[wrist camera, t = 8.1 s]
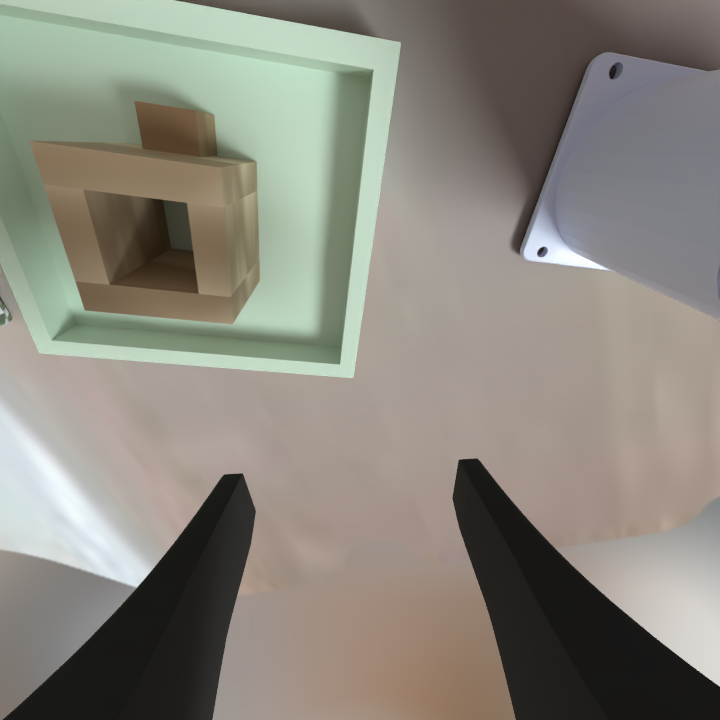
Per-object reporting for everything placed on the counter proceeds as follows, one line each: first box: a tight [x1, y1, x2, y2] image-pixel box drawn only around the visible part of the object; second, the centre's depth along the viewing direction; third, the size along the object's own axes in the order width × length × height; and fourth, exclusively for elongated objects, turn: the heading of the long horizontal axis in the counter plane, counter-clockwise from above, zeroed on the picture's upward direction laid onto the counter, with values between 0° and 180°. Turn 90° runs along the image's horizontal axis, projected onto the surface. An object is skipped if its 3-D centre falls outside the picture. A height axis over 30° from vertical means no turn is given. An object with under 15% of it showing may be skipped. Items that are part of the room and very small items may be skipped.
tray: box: [0, 0, 401, 378], centre depth 15 cm, size 16×14×2 cm
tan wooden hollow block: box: [30, 101, 260, 324], centre depth 13 cm, size 7×5×5 cm
